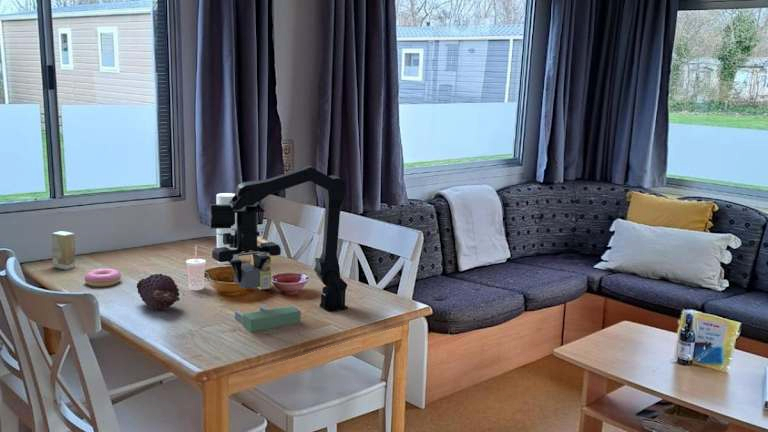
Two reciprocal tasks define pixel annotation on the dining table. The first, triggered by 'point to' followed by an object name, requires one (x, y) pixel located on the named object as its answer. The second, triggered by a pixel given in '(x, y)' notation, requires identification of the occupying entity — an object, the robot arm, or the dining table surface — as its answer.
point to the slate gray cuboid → (249, 276)
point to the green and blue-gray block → (269, 318)
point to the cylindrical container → (221, 200)
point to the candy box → (263, 269)
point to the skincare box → (63, 250)
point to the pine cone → (158, 291)
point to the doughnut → (102, 277)
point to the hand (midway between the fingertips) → (247, 280)
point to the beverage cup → (196, 272)
